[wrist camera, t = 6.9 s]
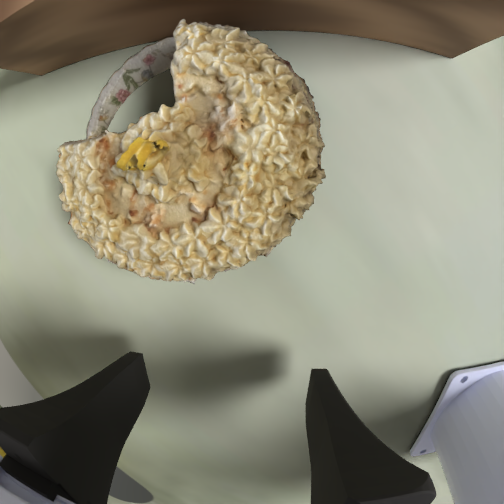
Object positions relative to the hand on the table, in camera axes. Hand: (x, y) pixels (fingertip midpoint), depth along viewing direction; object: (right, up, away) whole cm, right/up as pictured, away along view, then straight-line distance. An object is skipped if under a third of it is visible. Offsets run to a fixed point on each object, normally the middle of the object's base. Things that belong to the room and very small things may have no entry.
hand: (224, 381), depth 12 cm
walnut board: (0, +15, -3) cm, 15 cm away
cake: (-1, +9, 0) cm, 9 cm away
